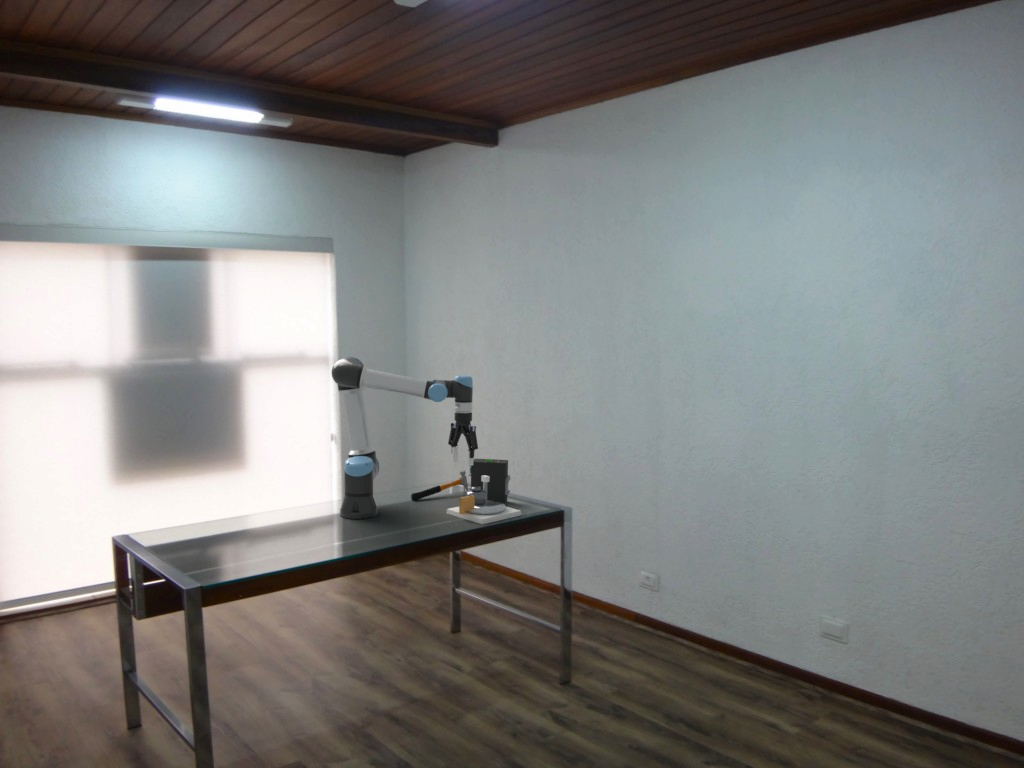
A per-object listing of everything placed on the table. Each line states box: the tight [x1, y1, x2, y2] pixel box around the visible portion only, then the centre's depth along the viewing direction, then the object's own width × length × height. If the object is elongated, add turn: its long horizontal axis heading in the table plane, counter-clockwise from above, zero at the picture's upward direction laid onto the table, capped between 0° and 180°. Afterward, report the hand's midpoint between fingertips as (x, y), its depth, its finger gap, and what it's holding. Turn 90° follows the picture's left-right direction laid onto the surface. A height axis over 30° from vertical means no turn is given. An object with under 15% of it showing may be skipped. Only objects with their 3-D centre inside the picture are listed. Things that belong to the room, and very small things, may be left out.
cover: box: [466, 486, 486, 505], centre depth 342 cm, size 8×8×7 cm
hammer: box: [410, 469, 469, 502], centre depth 370 cm, size 11×4×30 cm
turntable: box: [458, 495, 506, 515], centre depth 338 cm, size 18×22×7 cm
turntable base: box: [446, 475, 522, 525], centre depth 339 cm, size 22×22×14 cm
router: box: [468, 458, 512, 505], centre depth 360 cm, size 8×18×20 cm, turn 82°
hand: (462, 463), depth 348 cm, fingers open, 9 cm apart
